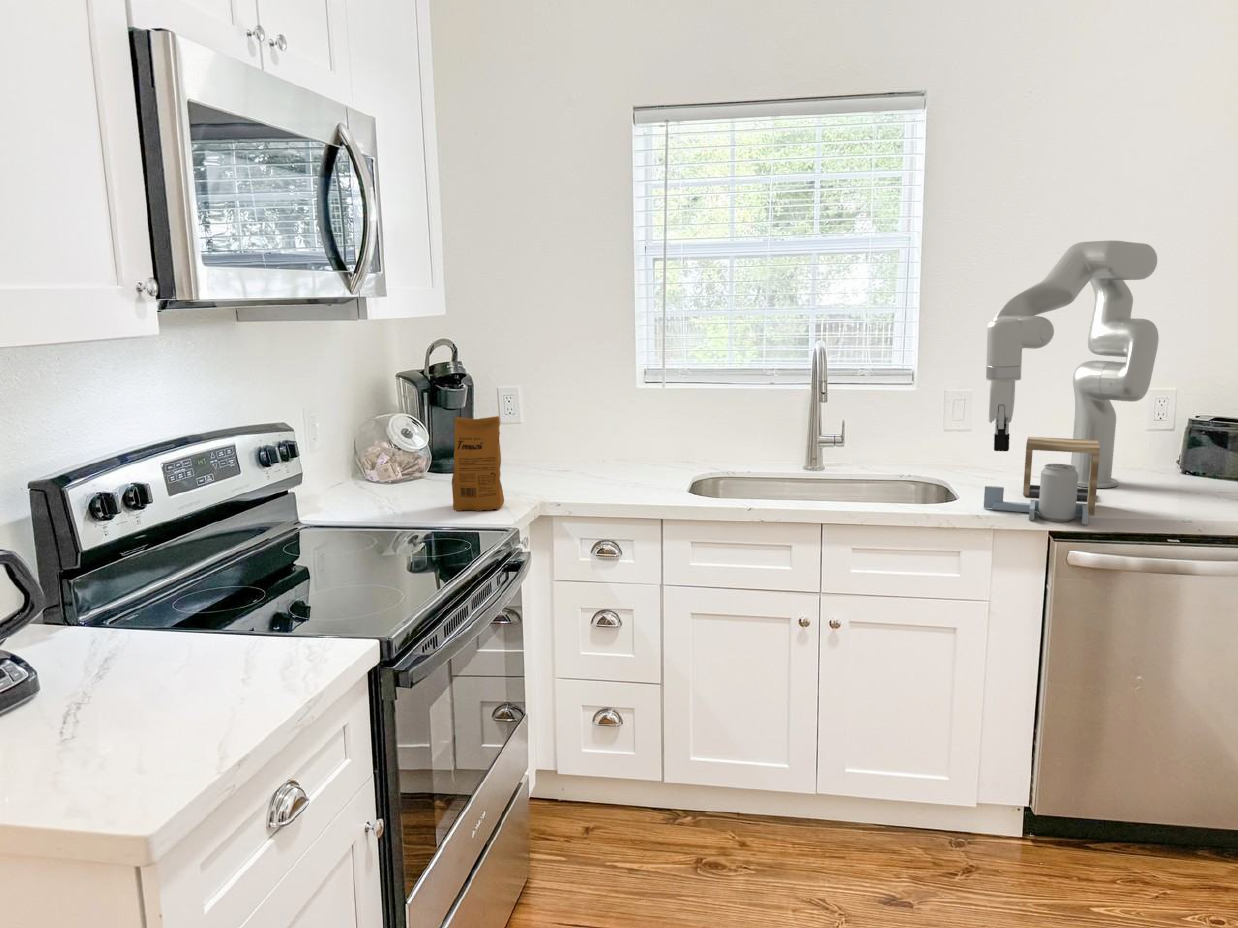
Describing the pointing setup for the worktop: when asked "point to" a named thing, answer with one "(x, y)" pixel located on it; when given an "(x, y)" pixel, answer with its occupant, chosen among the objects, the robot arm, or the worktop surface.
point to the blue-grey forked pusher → (1022, 504)
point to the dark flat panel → (1081, 493)
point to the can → (1058, 492)
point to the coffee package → (477, 465)
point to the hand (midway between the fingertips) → (1001, 450)
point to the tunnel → (1065, 446)
